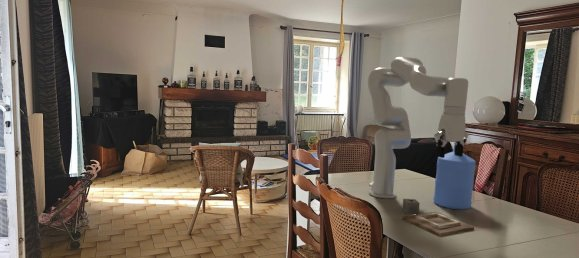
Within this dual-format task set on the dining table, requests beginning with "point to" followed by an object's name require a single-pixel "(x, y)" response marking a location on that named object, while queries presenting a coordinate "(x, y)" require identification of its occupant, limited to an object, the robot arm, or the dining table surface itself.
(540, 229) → the dining table surface
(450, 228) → the pocket board
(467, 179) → the water jug
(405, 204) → the dice cube
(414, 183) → the dining table surface
